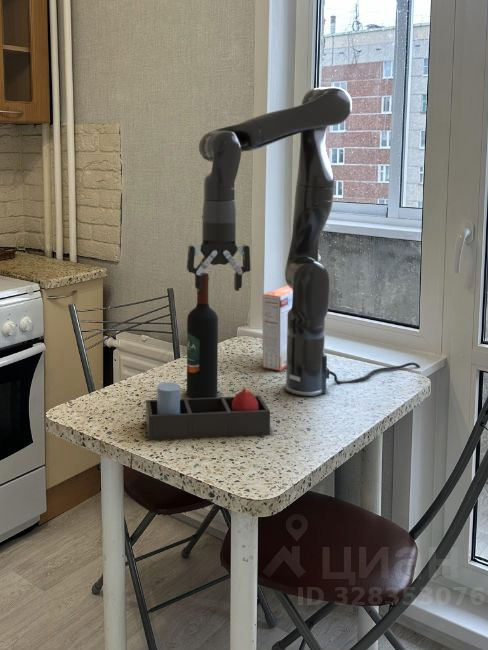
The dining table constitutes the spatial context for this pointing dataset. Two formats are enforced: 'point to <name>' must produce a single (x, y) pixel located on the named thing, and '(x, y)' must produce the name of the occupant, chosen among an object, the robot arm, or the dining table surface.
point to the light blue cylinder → (168, 398)
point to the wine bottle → (202, 347)
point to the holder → (206, 419)
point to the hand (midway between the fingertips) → (218, 290)
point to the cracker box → (276, 327)
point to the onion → (244, 401)
